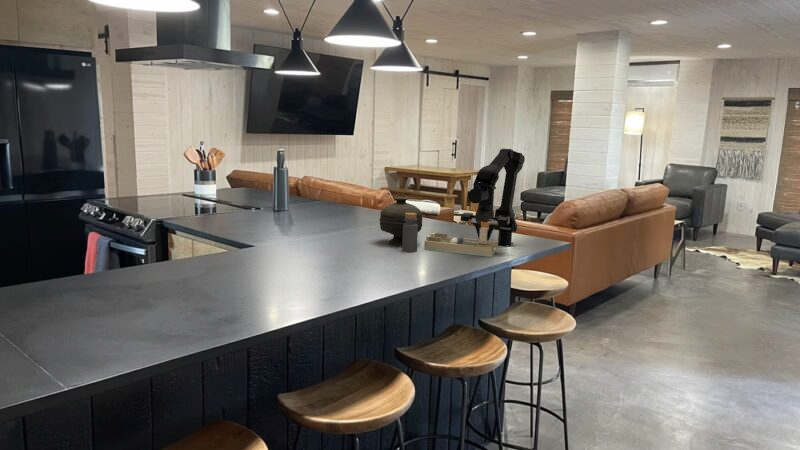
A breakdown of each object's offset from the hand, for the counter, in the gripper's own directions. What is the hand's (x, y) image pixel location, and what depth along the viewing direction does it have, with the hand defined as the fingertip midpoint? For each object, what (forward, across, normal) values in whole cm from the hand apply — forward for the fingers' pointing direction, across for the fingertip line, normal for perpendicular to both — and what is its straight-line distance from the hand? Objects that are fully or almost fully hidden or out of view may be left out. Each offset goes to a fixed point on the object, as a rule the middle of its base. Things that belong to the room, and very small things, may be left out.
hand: (483, 239), depth 232 cm
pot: (+5, -35, -1) cm, 35 cm away
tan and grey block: (+4, -4, 0) cm, 6 cm away
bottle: (+5, -27, -12) cm, 30 cm away
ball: (+2, -12, 0) cm, 12 cm away
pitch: (+5, -9, 0) cm, 10 cm away
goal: (+4, -20, 0) cm, 20 cm away
